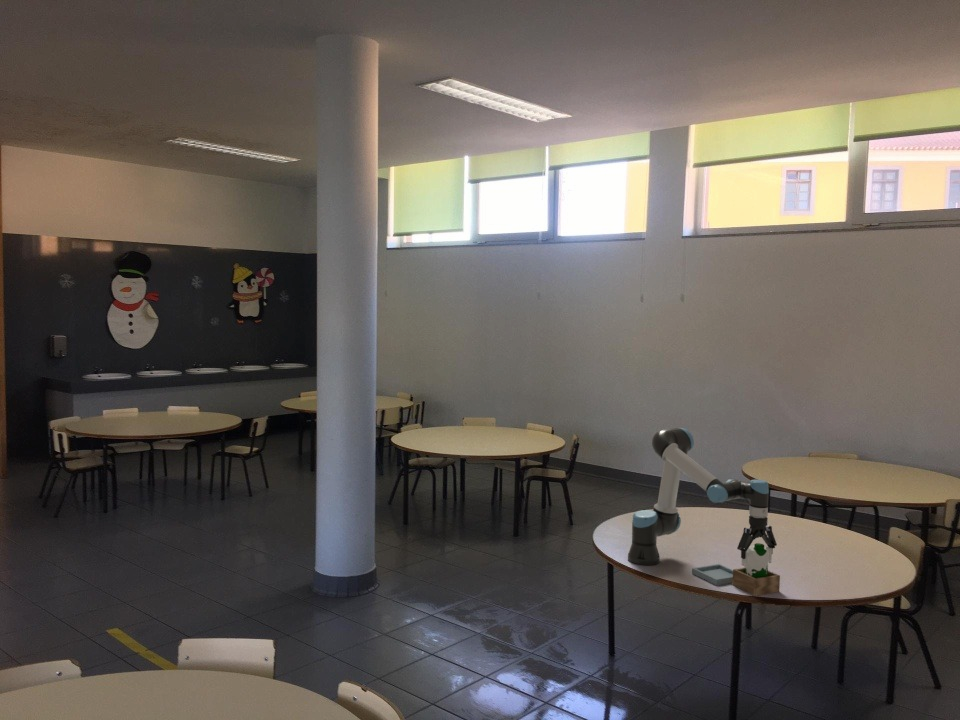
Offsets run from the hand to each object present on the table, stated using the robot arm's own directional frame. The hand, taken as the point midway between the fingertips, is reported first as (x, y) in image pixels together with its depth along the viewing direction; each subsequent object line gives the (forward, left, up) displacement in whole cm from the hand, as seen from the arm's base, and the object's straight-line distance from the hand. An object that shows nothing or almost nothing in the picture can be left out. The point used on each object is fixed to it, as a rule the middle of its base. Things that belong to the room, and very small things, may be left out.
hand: (756, 564), depth 313 cm
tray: (-6, +17, -11) cm, 21 cm away
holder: (0, 0, -11) cm, 11 cm away
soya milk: (0, 0, -11) cm, 11 cm away
